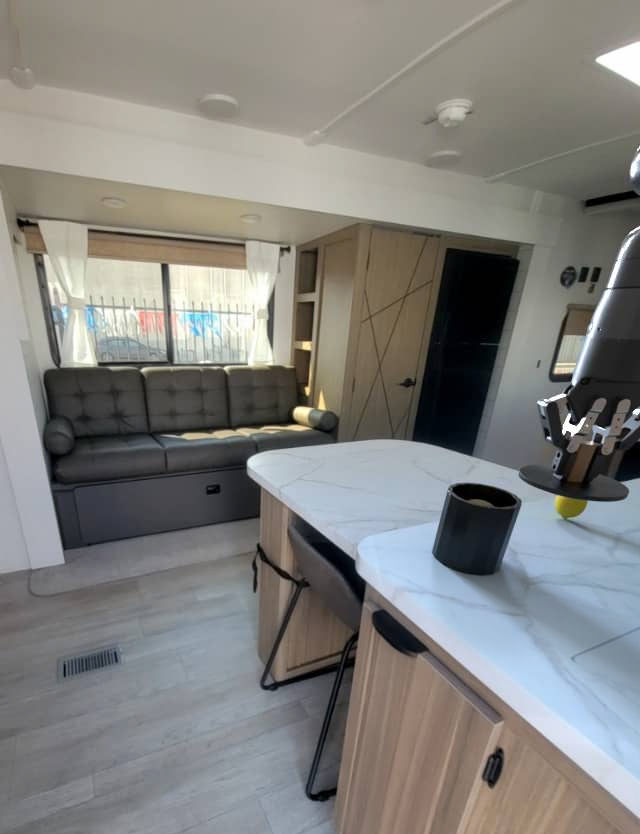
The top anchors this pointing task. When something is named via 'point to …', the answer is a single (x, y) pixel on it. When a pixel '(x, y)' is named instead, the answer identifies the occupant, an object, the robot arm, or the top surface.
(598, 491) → the lid
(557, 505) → the lemon
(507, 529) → the canister
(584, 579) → the top surface
